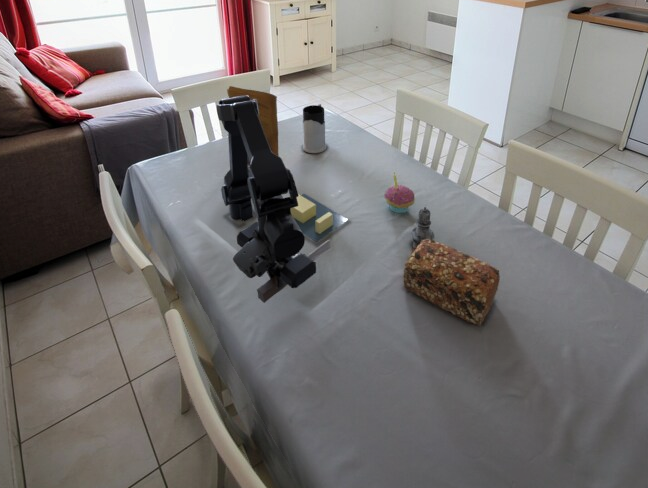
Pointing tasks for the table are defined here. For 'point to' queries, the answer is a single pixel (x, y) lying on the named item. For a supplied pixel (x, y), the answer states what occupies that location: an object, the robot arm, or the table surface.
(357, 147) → the table surface
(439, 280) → the bread
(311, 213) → the butter block
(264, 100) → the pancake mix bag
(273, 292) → the knife
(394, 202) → the cupcake
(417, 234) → the grey figurine
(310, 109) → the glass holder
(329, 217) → the butter slice
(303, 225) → the butter dish
